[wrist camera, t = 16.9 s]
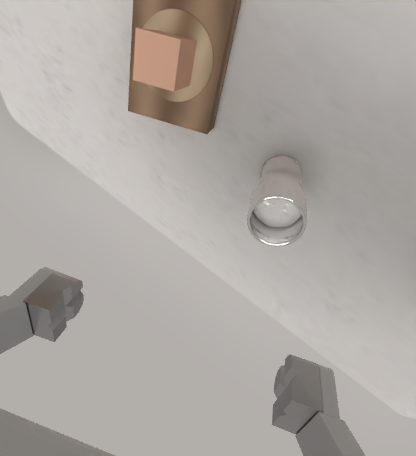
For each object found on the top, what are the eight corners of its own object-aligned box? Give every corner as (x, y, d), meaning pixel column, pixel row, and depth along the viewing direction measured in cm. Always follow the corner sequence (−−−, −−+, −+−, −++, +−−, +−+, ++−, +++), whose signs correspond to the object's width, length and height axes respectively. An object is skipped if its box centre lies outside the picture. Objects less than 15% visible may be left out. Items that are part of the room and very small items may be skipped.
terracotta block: (197, 40, 34) (180, 39, 29) (189, 85, 37) (173, 91, 32) (158, 30, 35) (135, 27, 30) (153, 75, 38) (132, 79, 33)
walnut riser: (242, -5, 35) (236, -12, 31) (213, 127, 44) (206, 134, 40) (149, -28, 36) (133, -37, 32) (140, 106, 45) (126, 111, 41)
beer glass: (257, 193, 47) (244, 244, 35) (259, 151, 44) (246, 192, 31) (301, 196, 46) (303, 251, 34) (307, 153, 42) (313, 197, 30)
